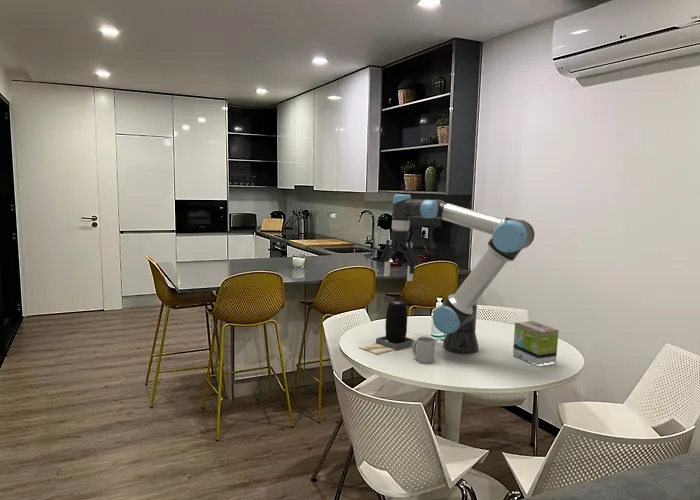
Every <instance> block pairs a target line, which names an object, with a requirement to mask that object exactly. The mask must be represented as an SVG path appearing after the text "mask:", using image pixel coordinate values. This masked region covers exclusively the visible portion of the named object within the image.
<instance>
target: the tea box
mask: <svg viewBox="0 0 700 500" xmlns="http://www.w3.org/2000/svg"><path fill="white" fill-rule="evenodd" d="M513 334H514V336H513V347H512V349H513V350H512V356H513V355H515V356H514V357H516V356H518V357H520V358H522V359H521V360H523V359H525V360H527V361H530V362H532V363H535V364H537V365H539V364H544V363H550V362H556V363H557V355H558V341H559V329H557V328H553V327H550V326H548V325H545V324H542V323H539V322H537V321H534V320H530V321H529V320H528V321H520V322H515V323H514V333H513ZM518 357H517V358H518ZM520 358H519V359H520ZM525 360H524V361H525ZM527 361H526V362H527Z"/></svg>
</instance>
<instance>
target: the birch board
mask: <svg viewBox="0 0 700 500" xmlns="http://www.w3.org/2000/svg"><path fill="white" fill-rule="evenodd" d="M358 348H359V349H360V350H363V351H366V352H369V353H371V354H374V355H376V356H378V355H383V354H386V353H389V352H390V353H391V352H393V351H395V350H394V349H391V348H389V347H386V346H383V345H380V344H377V343H376V342H375V343H371V344H368V345H363V346H359V347H358Z"/></svg>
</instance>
